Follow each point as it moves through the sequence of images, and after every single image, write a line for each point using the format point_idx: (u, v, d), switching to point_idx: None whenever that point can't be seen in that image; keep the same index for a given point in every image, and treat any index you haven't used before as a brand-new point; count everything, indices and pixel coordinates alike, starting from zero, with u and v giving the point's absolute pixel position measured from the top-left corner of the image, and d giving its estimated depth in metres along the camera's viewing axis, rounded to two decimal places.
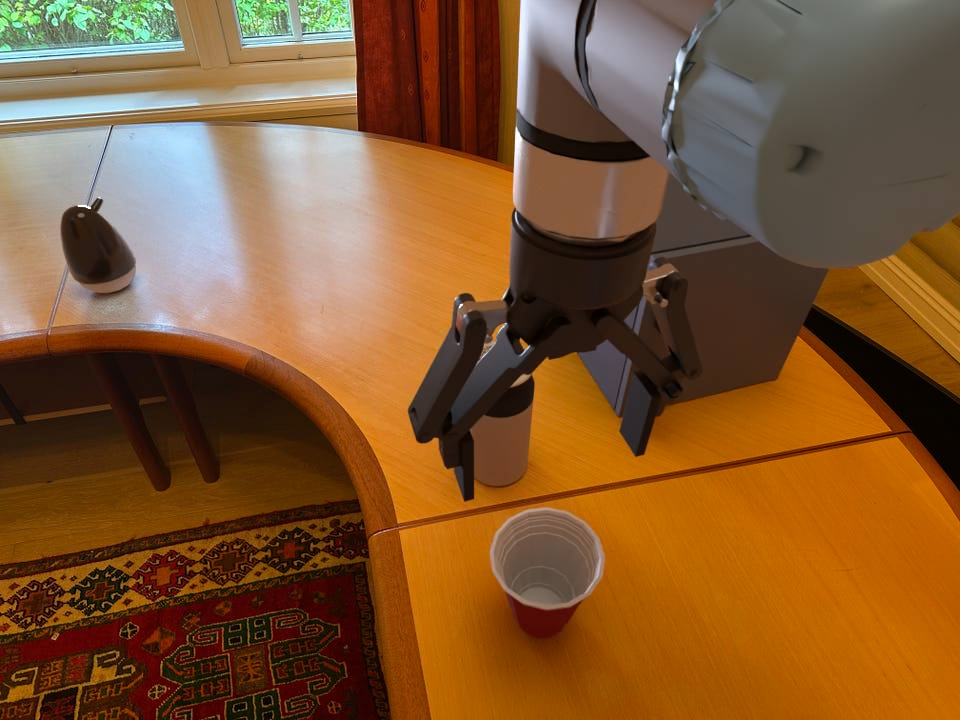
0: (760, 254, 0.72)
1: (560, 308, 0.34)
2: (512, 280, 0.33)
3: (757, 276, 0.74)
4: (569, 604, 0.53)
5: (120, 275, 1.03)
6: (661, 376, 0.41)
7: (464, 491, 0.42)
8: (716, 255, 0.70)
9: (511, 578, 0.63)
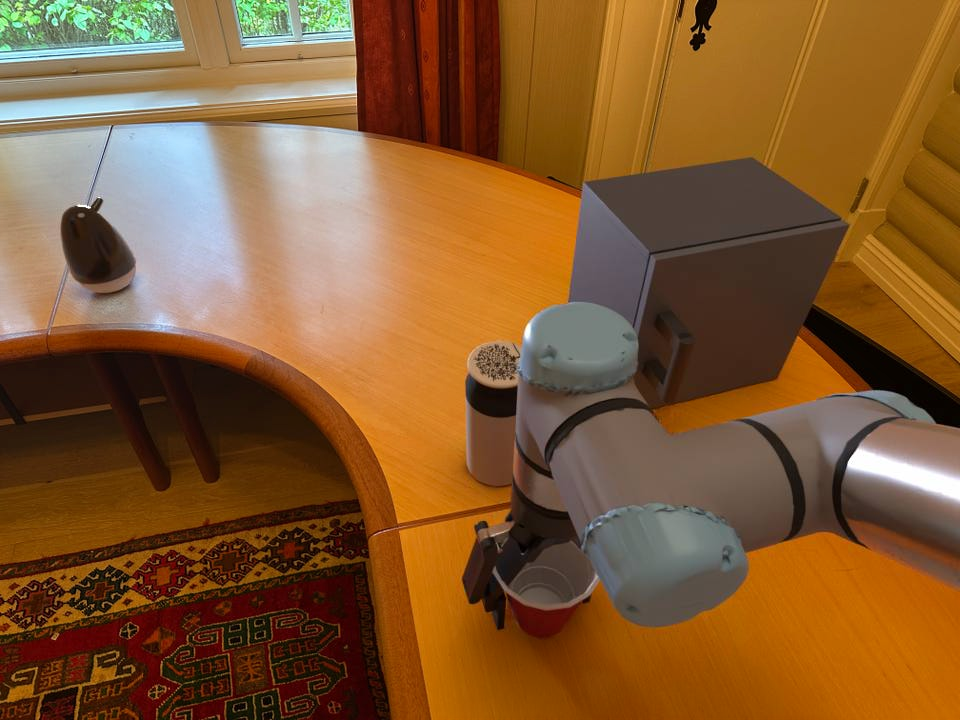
0: (760, 254, 0.72)
1: None
2: (512, 511, 0.50)
3: (757, 276, 0.74)
4: (569, 604, 0.53)
5: (120, 275, 1.03)
6: None
7: (498, 625, 0.61)
8: (716, 255, 0.70)
9: None
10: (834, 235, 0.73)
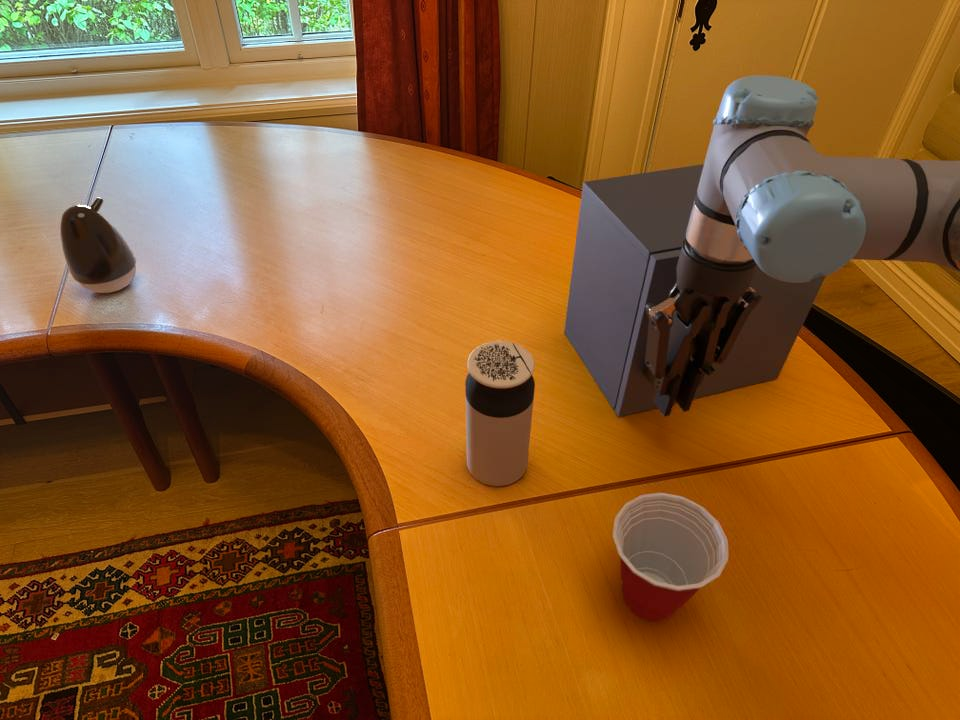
0: None
1: (704, 296, 0.63)
2: (680, 281, 0.62)
3: (757, 276, 0.74)
4: (700, 585, 0.54)
5: (120, 275, 1.03)
6: (709, 358, 0.70)
7: (666, 409, 0.74)
8: None
9: None
10: None
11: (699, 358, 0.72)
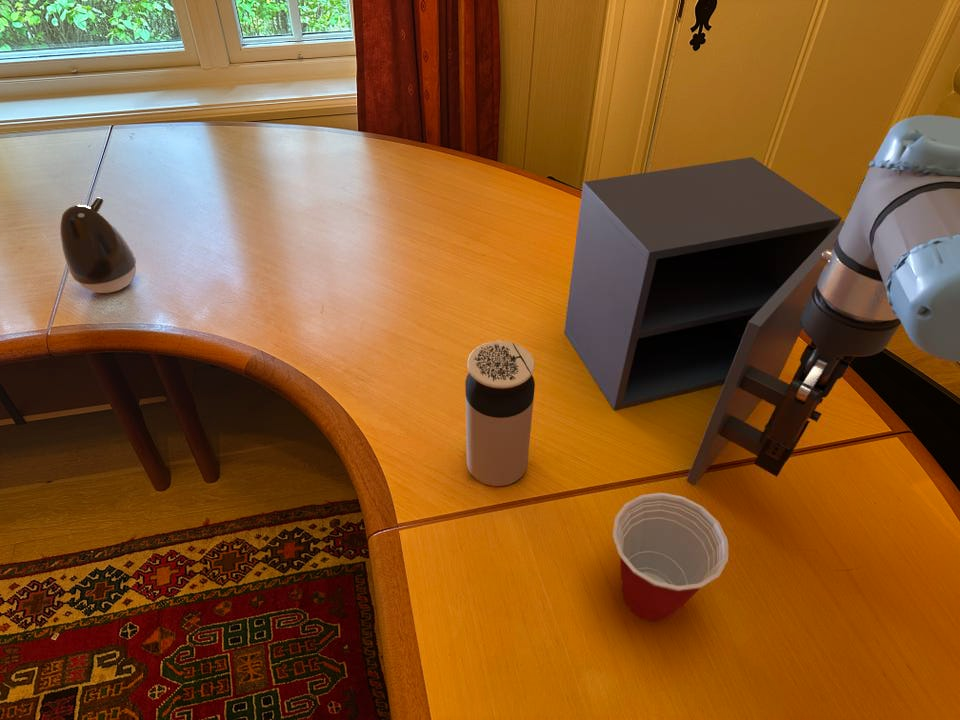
0: (808, 279, 0.68)
1: None
2: (826, 350, 0.55)
3: (800, 300, 0.71)
4: (700, 585, 0.54)
5: (120, 275, 1.03)
6: (817, 405, 0.65)
7: (780, 469, 0.68)
8: (789, 297, 0.64)
9: None
10: None
11: None
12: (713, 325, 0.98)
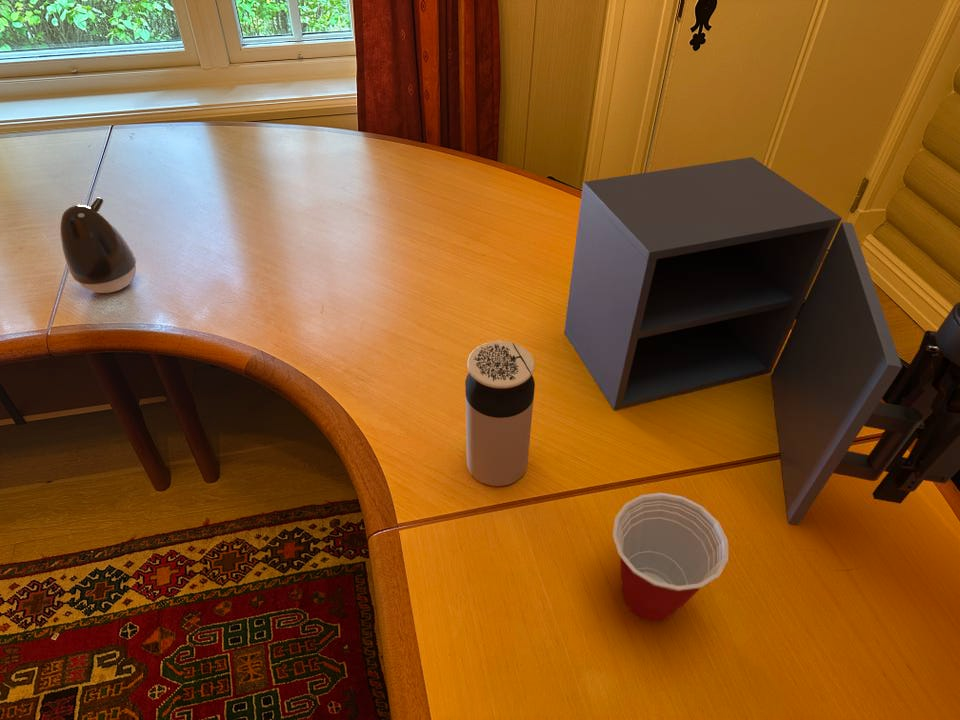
0: None
1: None
2: None
3: None
4: (700, 585, 0.54)
5: (120, 275, 1.03)
6: None
7: (905, 496, 0.65)
8: None
9: None
10: None
11: None
12: (713, 325, 0.98)
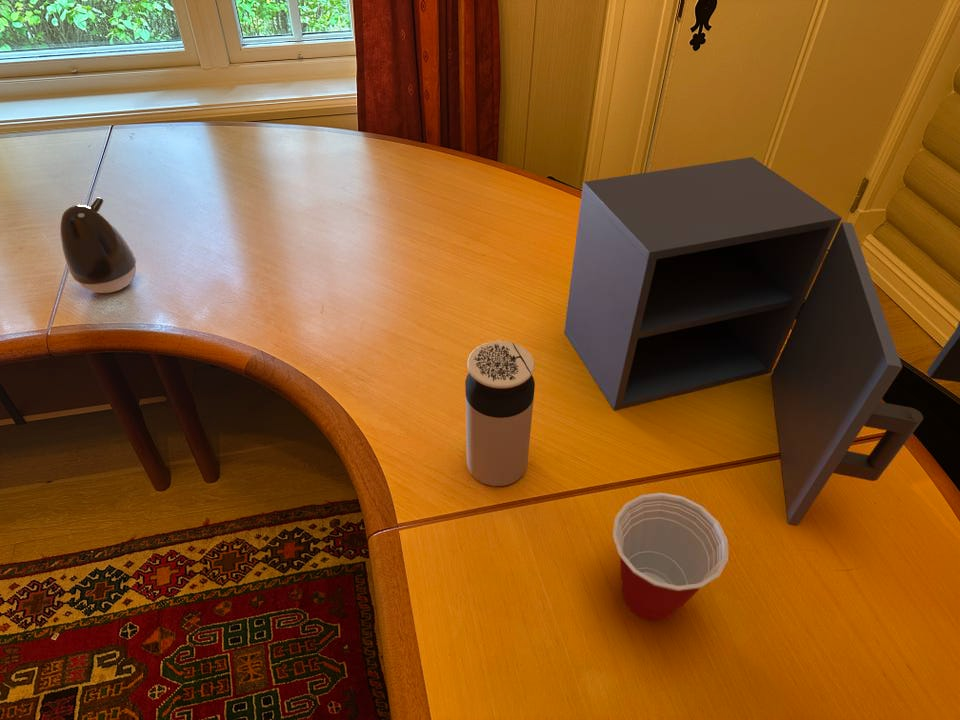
0: None
1: None
2: None
3: None
4: (700, 585, 0.54)
5: (120, 275, 1.03)
6: None
7: None
8: None
9: None
10: None
11: None
12: (713, 325, 0.98)
